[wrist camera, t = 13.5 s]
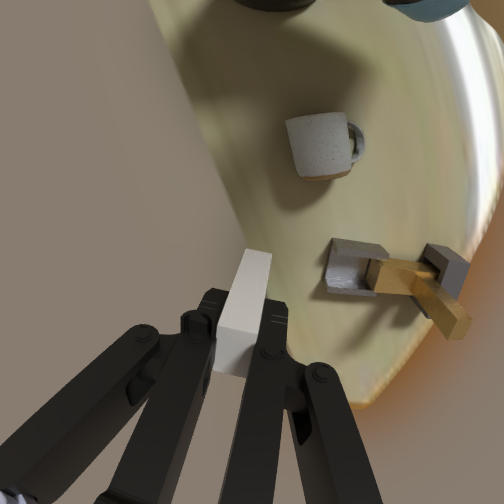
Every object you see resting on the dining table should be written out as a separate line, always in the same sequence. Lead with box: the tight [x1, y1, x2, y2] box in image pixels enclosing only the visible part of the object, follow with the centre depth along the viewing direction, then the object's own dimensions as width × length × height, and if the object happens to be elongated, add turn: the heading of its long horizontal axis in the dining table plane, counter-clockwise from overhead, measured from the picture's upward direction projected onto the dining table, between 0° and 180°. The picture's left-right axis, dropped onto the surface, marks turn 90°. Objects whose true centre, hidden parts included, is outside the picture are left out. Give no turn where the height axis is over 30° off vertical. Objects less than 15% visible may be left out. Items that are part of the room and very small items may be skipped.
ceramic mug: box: [285, 112, 365, 181], centre depth 32 cm, size 11×8×8 cm
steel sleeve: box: [323, 238, 389, 297], centre depth 40 cm, size 7×8×4 cm
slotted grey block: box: [410, 243, 470, 319], centre depth 38 cm, size 10×5×7 cm, turn 174°
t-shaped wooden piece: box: [366, 258, 473, 340], centre depth 33 cm, size 4×14×16 cm, turn 84°
